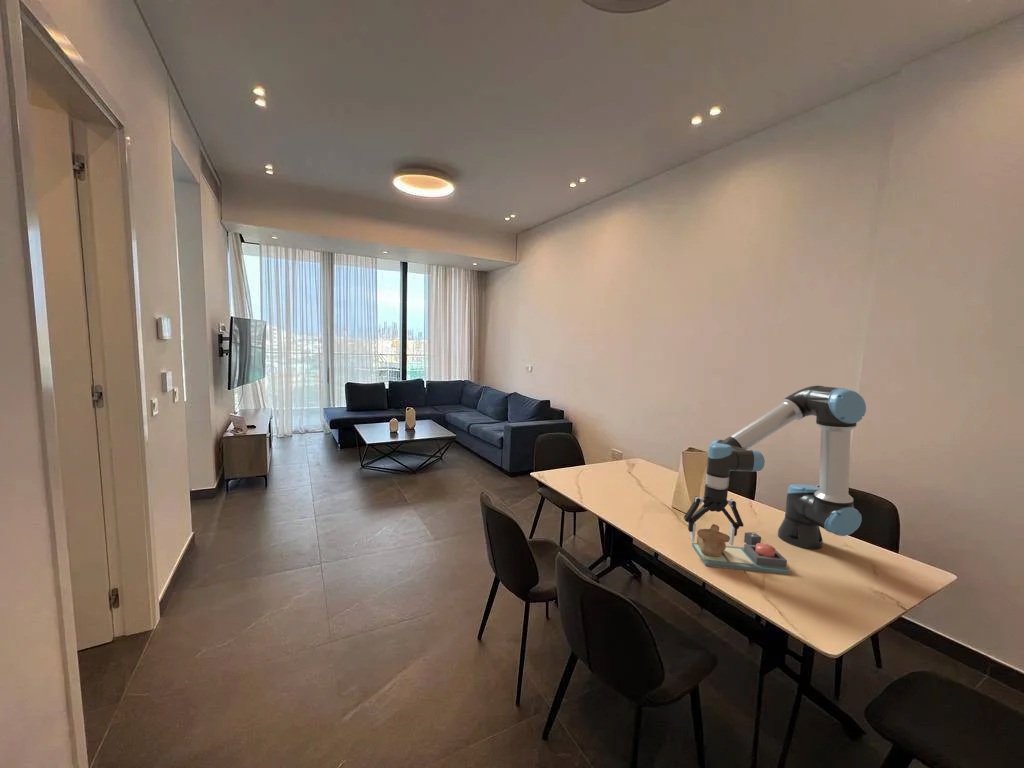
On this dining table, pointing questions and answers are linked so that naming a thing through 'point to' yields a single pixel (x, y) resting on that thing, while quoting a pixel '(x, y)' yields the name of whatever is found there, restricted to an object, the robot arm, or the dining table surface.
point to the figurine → (712, 541)
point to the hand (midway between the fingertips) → (711, 541)
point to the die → (752, 538)
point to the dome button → (765, 550)
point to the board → (744, 559)
